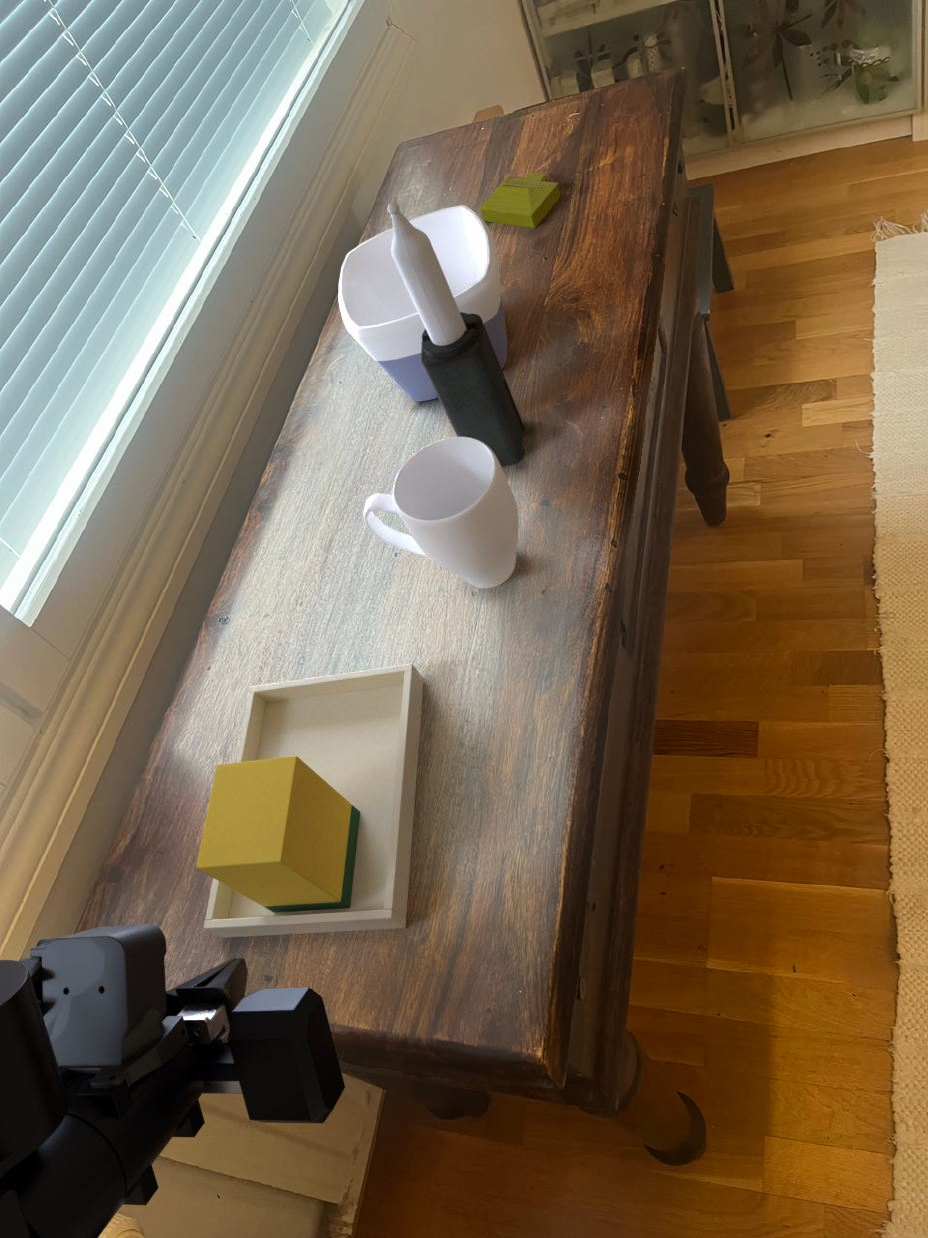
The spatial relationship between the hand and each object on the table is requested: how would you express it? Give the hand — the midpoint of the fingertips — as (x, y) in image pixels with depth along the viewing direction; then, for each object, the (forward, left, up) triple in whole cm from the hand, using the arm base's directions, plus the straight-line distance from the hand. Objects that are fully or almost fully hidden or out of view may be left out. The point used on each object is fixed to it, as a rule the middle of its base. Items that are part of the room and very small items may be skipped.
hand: (240, 965), depth 56 cm
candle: (+45, +17, -8) cm, 49 cm away
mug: (+33, +11, -8) cm, 36 cm away
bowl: (+53, +29, -8) cm, 61 cm away
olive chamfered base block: (+75, +36, -8) cm, 84 cm away
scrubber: (+7, +5, -8) cm, 12 cm away
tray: (+11, +8, -8) cm, 16 cm away
